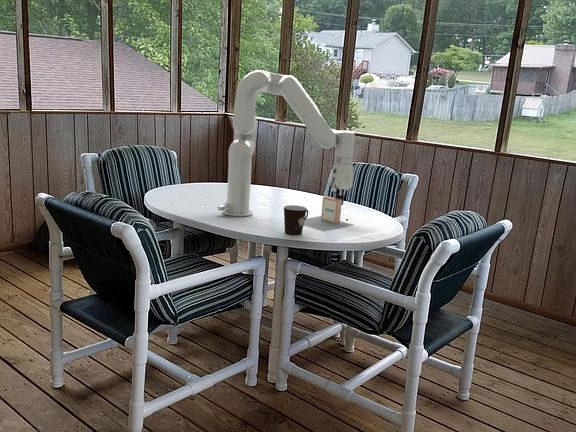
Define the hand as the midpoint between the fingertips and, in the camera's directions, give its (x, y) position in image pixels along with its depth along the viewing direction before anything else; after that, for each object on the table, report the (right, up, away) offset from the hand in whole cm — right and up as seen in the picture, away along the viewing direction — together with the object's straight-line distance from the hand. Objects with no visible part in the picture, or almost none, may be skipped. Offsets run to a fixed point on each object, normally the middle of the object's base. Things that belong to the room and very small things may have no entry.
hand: (338, 204), depth 234 cm
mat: (-7, -8, -5) cm, 12 cm away
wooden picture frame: (-4, -7, -2) cm, 8 cm away
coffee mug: (-18, -12, -22) cm, 31 cm away
